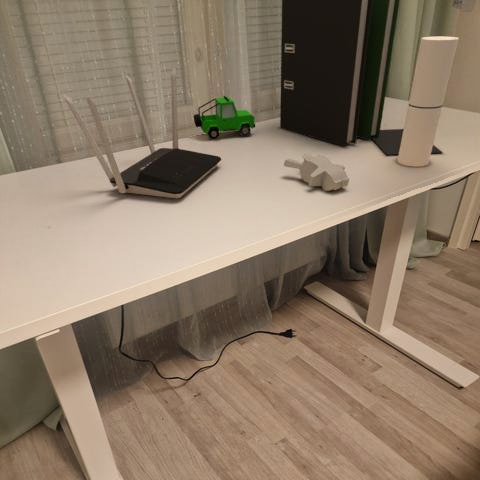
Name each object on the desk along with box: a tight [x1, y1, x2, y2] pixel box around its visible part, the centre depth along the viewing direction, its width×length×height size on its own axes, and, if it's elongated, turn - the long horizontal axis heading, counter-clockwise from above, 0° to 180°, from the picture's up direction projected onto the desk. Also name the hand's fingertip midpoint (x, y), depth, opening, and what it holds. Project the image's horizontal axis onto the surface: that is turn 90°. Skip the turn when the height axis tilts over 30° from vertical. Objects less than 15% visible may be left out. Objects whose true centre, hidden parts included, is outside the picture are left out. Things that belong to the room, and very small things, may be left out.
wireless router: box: [62, 67, 222, 199], centre depth 93 cm, size 34×23×20 cm
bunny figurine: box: [283, 153, 350, 192], centre depth 93 cm, size 10×5×15 cm
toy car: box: [193, 95, 256, 141], centre depth 123 cm, size 8×17×10 cm, turn 104°
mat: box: [370, 128, 443, 157], centre depth 115 cm, size 14×22×1 cm, turn 1°
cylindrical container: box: [397, 35, 460, 168], centre depth 95 cm, size 7×7×25 cm
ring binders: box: [279, 0, 400, 147], centre depth 114 cm, size 27×15×32 cm, turn 34°
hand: (460, 9), depth 73 cm, fingers open, 8 cm apart
